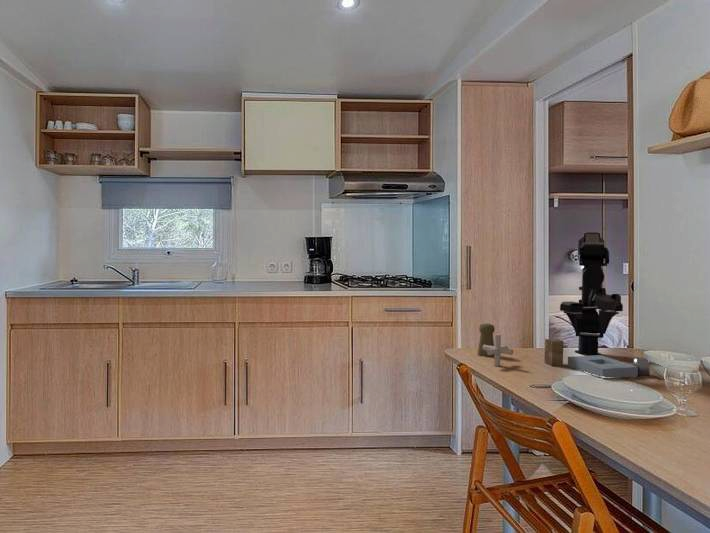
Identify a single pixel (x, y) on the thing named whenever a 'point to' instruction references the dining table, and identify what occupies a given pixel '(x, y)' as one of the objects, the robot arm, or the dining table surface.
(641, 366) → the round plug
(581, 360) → the bore block
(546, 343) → the square peg
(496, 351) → the pipe connector
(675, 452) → the dining table surface
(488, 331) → the dark green pepper mill
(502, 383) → the dining table surface
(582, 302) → the robot arm
